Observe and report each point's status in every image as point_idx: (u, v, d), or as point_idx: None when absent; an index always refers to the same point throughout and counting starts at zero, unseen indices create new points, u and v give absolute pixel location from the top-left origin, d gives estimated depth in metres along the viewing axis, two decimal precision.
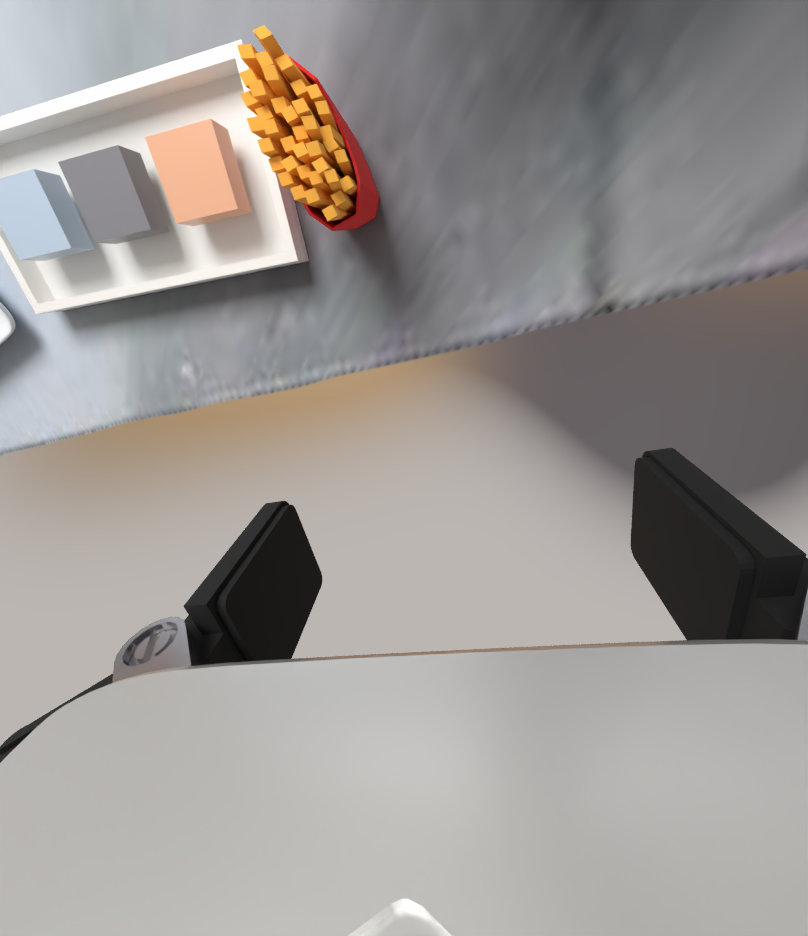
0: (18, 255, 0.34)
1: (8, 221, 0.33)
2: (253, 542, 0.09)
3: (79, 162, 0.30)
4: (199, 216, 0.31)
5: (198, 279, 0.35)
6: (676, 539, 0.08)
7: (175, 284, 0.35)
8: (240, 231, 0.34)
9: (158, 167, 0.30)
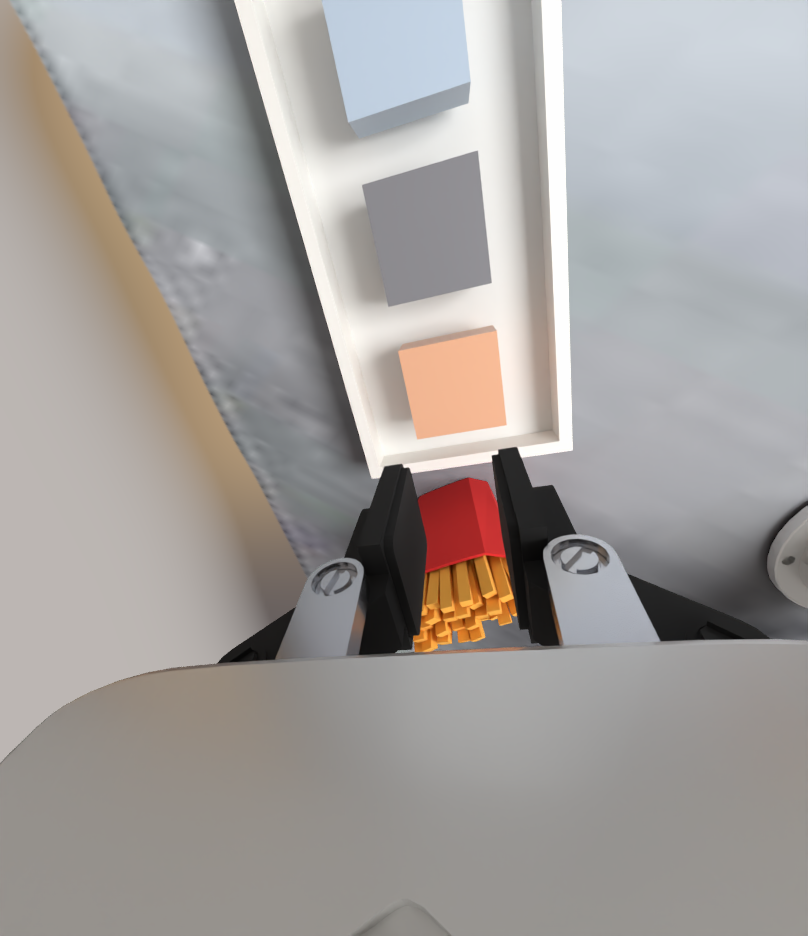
0: None
1: None
2: (392, 496, 0.10)
3: (474, 199, 0.18)
4: (407, 387, 0.23)
5: (334, 344, 0.24)
6: (503, 520, 0.09)
7: (322, 303, 0.23)
8: (402, 393, 0.27)
9: (462, 341, 0.21)
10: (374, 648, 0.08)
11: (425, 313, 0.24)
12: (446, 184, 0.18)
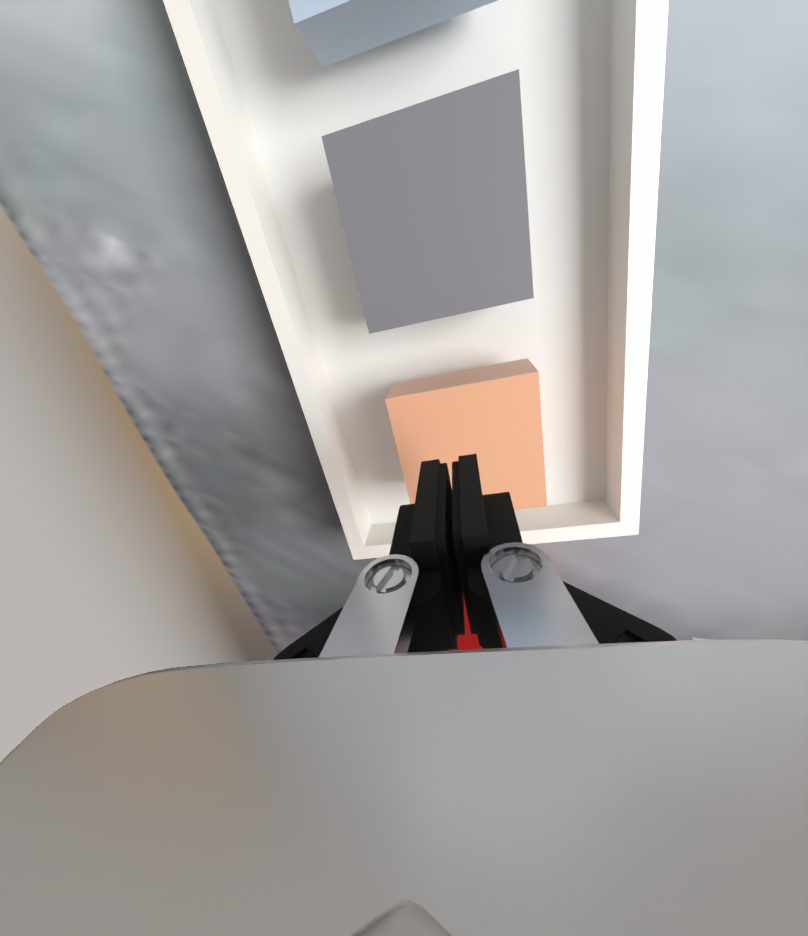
0: None
1: None
2: (436, 492, 0.09)
3: (510, 158, 0.11)
4: (399, 450, 0.15)
5: (295, 383, 0.16)
6: None
7: (275, 325, 0.15)
8: None
9: (483, 386, 0.14)
10: (422, 652, 0.07)
11: (427, 338, 0.17)
12: (462, 132, 0.11)
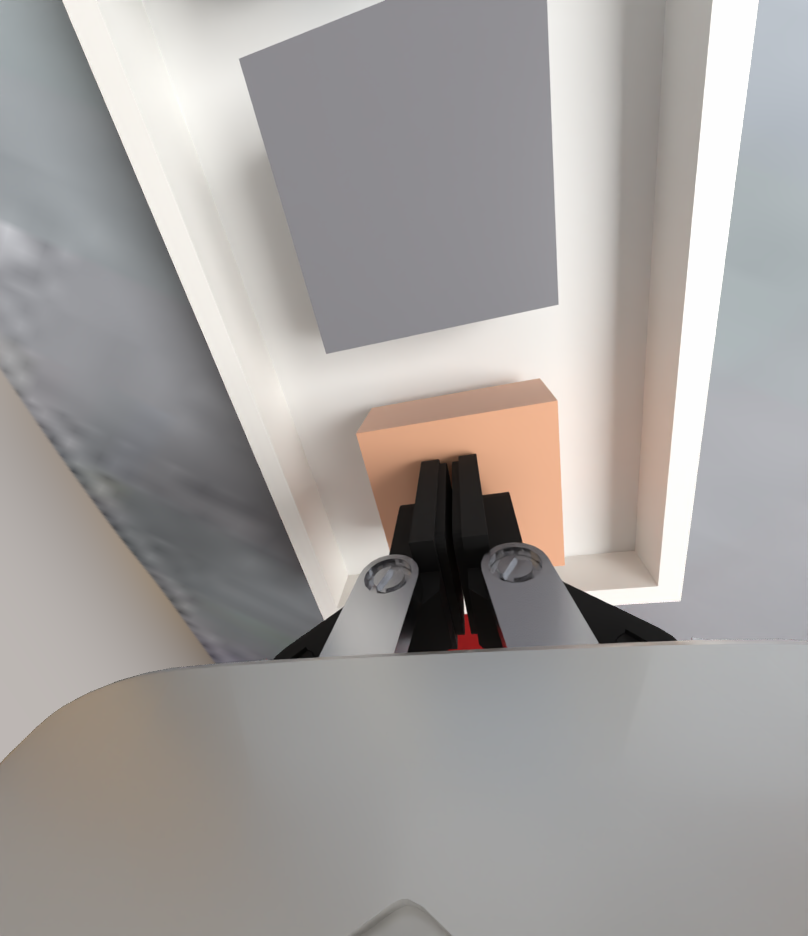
0: None
1: None
2: (436, 492, 0.09)
3: (528, 90, 0.07)
4: (377, 497, 0.12)
5: (240, 414, 0.13)
6: None
7: (208, 339, 0.12)
8: None
9: (484, 419, 0.10)
10: (422, 652, 0.07)
11: (412, 353, 0.13)
12: (454, 49, 0.07)
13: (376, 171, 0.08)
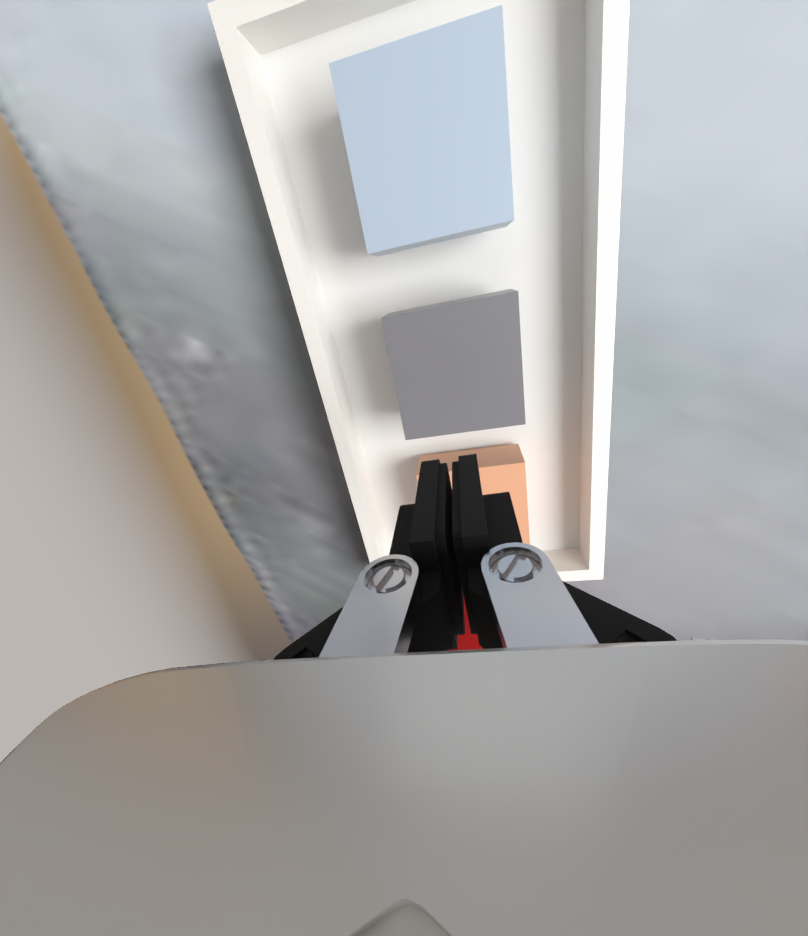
0: (339, 66, 0.13)
1: (417, 75, 0.12)
2: (436, 492, 0.09)
3: (511, 340, 0.16)
4: None
5: (342, 462, 0.21)
6: None
7: (330, 421, 0.20)
8: None
9: (486, 470, 0.20)
10: (422, 651, 0.07)
11: None
12: (479, 323, 0.16)
13: (440, 364, 0.17)
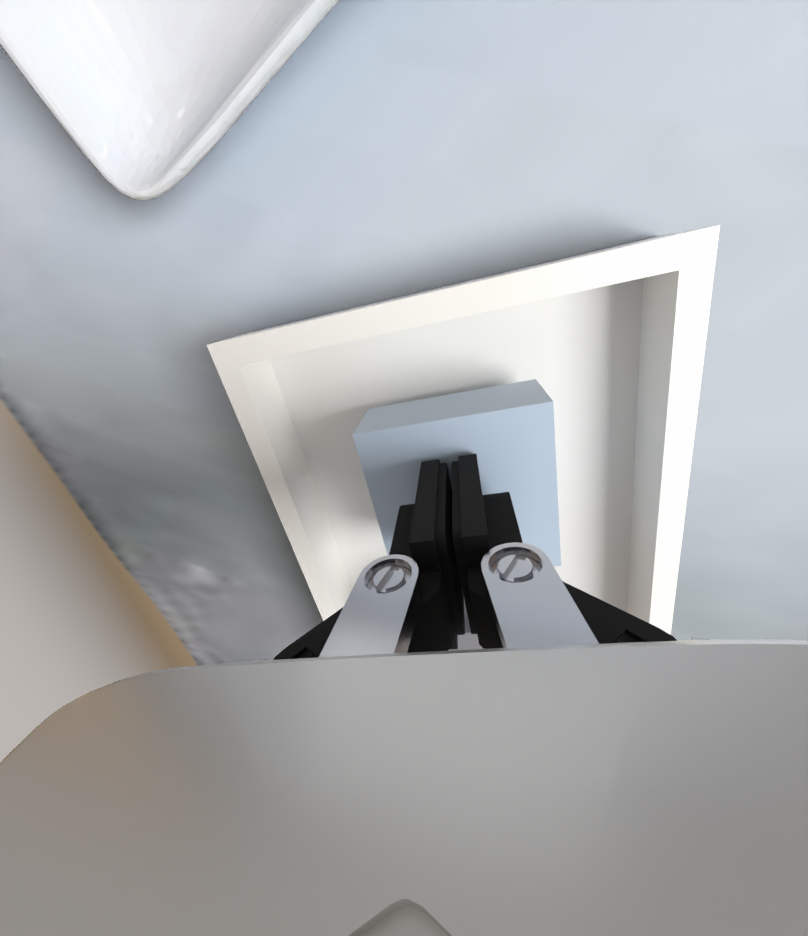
0: (365, 437, 0.11)
1: (453, 450, 0.11)
2: (436, 492, 0.09)
3: None
4: None
5: None
6: None
7: None
8: None
9: None
10: (422, 652, 0.07)
11: None
12: None
13: None
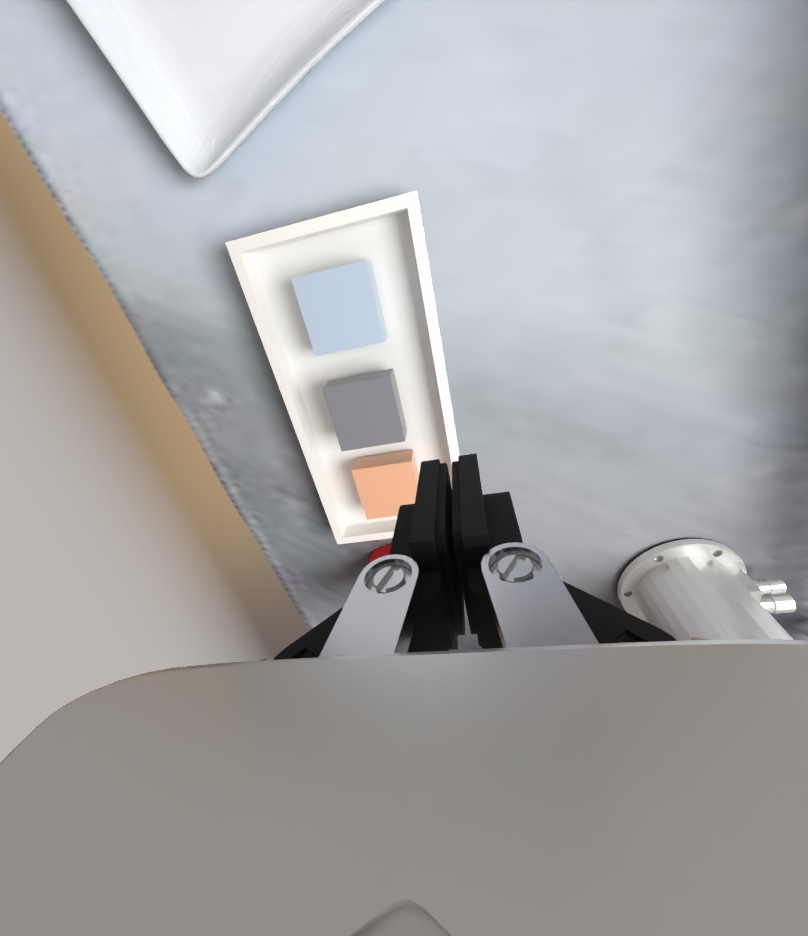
0: (296, 279, 0.27)
1: (332, 284, 0.27)
2: (436, 492, 0.09)
3: (390, 399, 0.30)
4: (358, 490, 0.36)
5: (308, 464, 0.36)
6: None
7: (299, 441, 0.35)
8: None
9: (390, 466, 0.34)
10: (422, 652, 0.07)
11: None
12: (372, 391, 0.30)
13: (355, 411, 0.31)
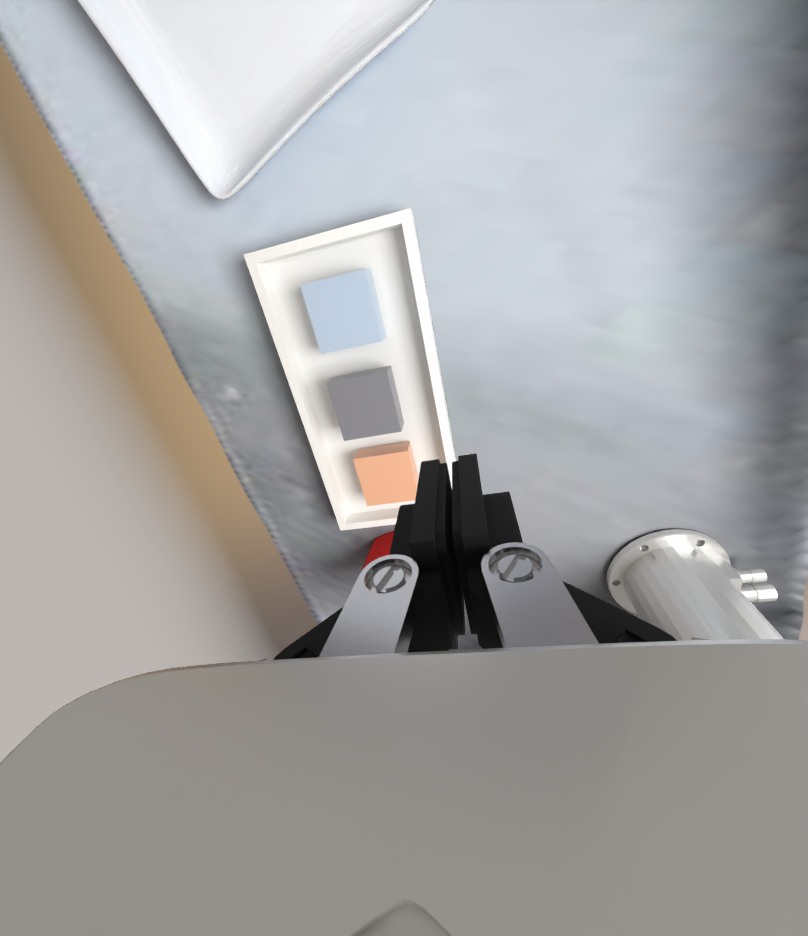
0: (304, 286, 0.31)
1: (335, 290, 0.31)
2: (436, 492, 0.09)
3: (387, 392, 0.33)
4: (359, 478, 0.39)
5: (314, 453, 0.39)
6: None
7: (306, 432, 0.38)
8: None
9: (389, 455, 0.37)
10: (422, 652, 0.07)
11: None
12: (371, 385, 0.33)
13: (356, 404, 0.34)
